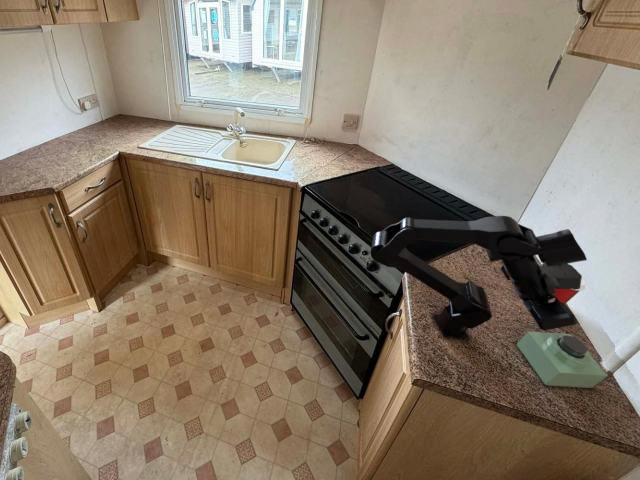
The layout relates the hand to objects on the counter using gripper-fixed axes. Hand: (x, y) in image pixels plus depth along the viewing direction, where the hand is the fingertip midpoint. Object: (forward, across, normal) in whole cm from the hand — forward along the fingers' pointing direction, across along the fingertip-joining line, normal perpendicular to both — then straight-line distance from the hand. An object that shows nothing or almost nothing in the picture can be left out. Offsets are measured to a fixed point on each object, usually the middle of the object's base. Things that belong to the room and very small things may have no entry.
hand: (547, 317), depth 72 cm
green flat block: (+15, 0, +4) cm, 15 cm away
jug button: (+10, -1, -1) cm, 10 cm away
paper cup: (+17, +19, -2) cm, 25 cm away
